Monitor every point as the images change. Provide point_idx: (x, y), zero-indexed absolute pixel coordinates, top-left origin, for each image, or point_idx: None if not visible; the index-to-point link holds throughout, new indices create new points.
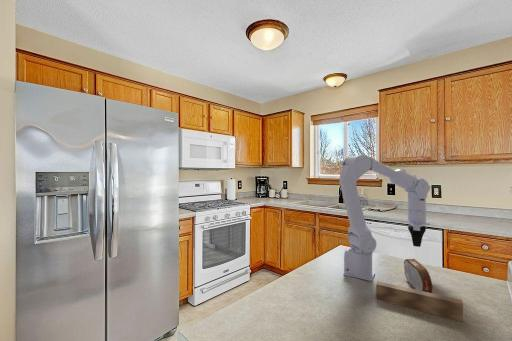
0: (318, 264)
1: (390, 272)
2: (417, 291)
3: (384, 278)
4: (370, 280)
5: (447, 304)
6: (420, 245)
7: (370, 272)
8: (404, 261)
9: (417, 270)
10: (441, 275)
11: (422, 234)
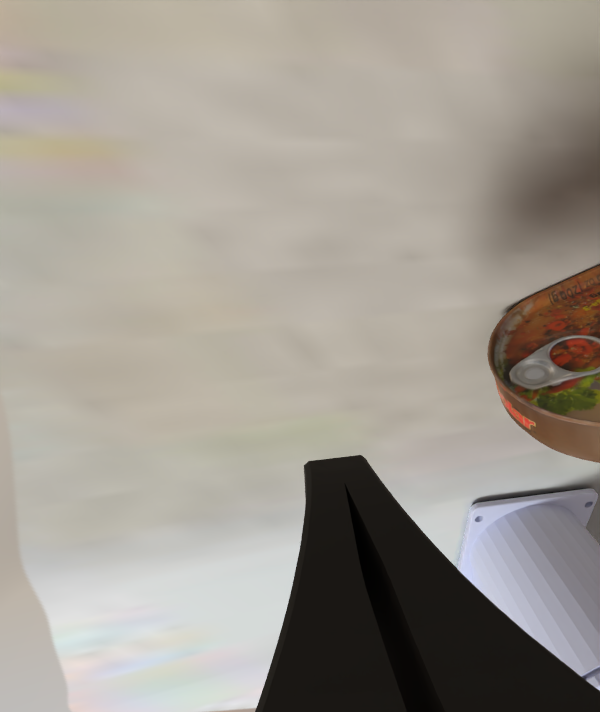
0: None
1: (396, 449)
2: None
3: (518, 452)
4: (597, 493)
5: None
6: (371, 468)
7: (577, 527)
8: (588, 455)
9: None
10: (218, 120)
11: (578, 682)
